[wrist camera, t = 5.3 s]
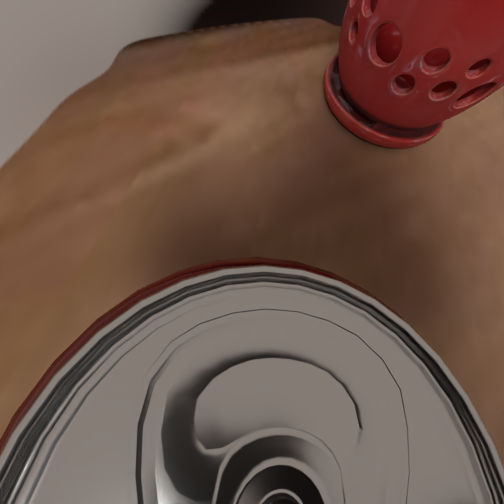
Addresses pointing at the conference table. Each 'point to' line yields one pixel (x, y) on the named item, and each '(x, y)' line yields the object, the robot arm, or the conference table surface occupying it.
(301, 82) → the conference table surface
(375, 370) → the soda can
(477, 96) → the plant pot
